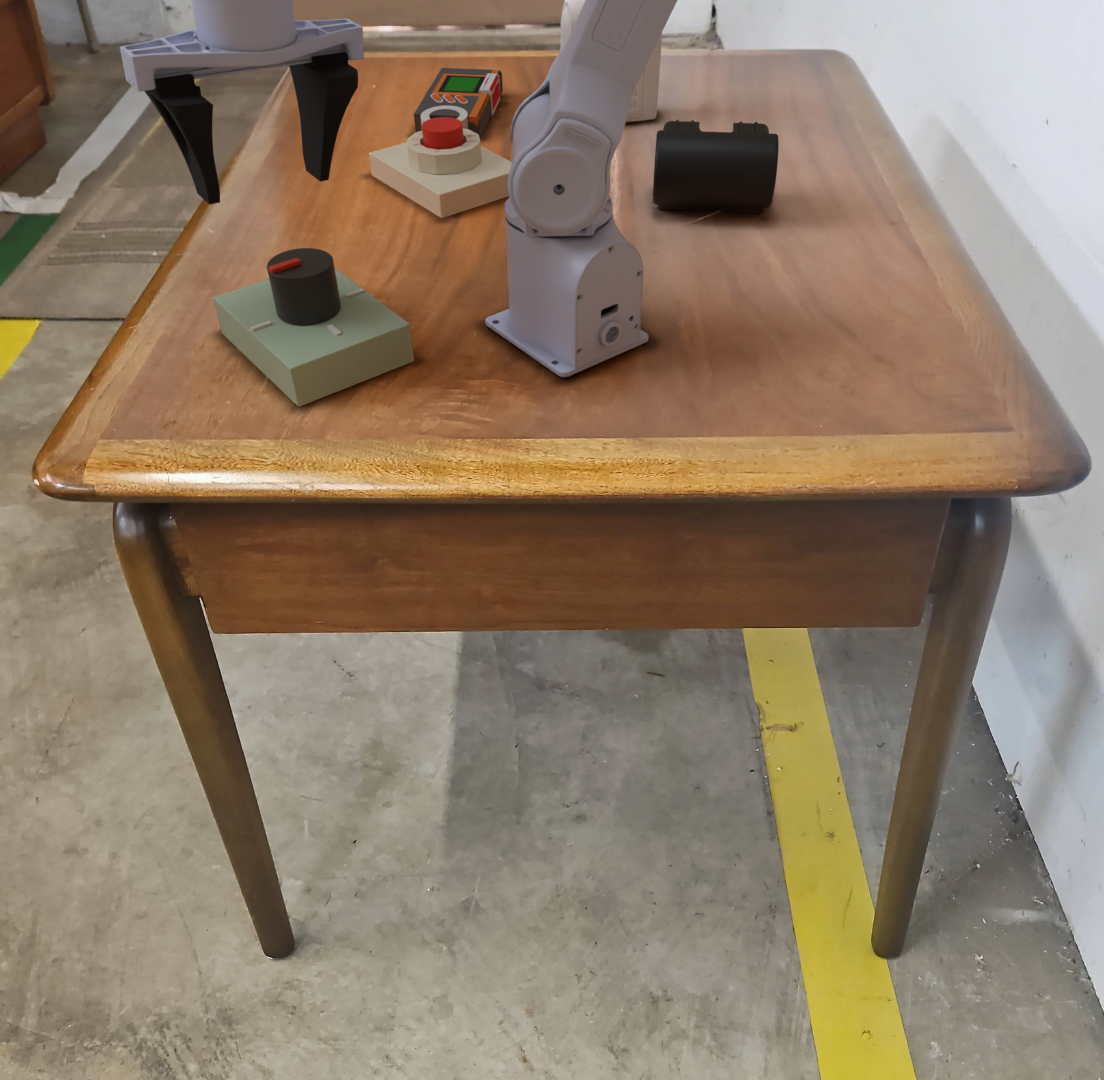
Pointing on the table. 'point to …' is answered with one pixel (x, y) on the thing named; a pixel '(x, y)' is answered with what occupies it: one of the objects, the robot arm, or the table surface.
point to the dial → (304, 286)
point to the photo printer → (648, 83)
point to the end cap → (715, 168)
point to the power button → (442, 133)
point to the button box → (443, 173)
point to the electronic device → (462, 97)
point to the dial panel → (316, 340)
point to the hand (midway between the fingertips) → (264, 186)
